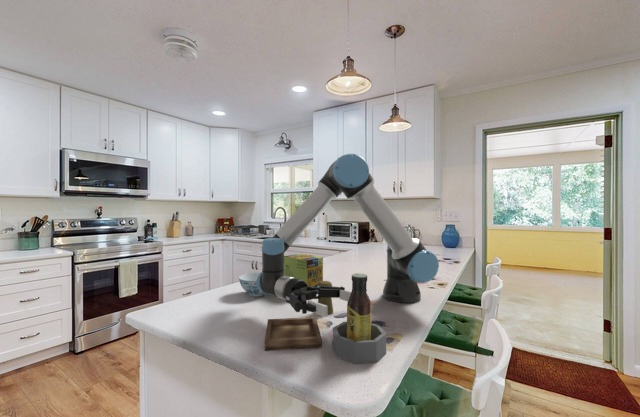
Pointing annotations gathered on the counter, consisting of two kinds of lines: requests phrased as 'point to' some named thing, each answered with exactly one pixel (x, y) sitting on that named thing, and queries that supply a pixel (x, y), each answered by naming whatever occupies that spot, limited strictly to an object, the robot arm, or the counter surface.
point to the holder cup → (359, 345)
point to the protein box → (304, 268)
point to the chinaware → (250, 283)
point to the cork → (326, 300)
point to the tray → (292, 334)
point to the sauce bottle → (359, 310)
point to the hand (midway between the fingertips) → (343, 304)
